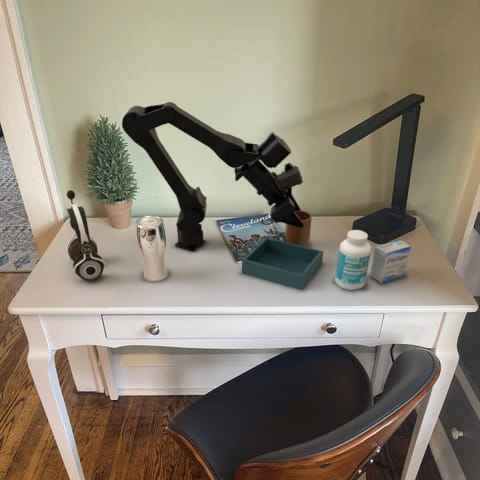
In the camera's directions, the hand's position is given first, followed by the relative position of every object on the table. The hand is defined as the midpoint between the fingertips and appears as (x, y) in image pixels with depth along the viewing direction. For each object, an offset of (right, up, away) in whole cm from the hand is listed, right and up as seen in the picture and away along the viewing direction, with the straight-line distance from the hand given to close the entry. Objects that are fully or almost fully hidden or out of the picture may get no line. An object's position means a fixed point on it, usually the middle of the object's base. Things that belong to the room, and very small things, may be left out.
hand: (301, 219), depth 135 cm
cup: (-1, -6, +5) cm, 8 cm away
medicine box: (+21, -16, -8) cm, 28 cm away
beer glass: (-38, -16, -8) cm, 42 cm away
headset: (-56, -15, -6) cm, 58 cm away
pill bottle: (+11, -18, -11) cm, 24 cm away
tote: (-6, -14, -5) cm, 16 cm away
